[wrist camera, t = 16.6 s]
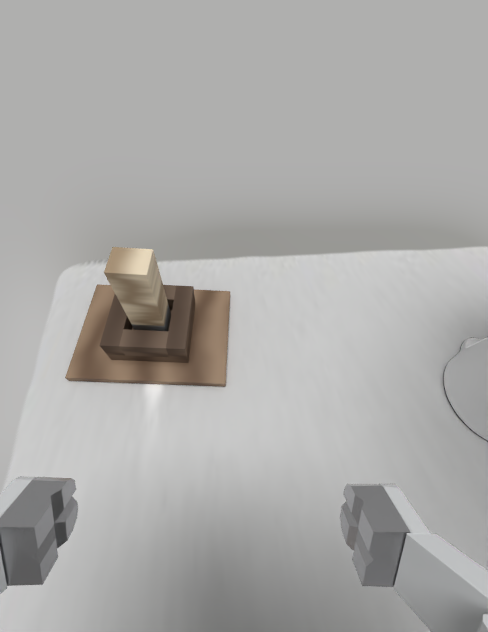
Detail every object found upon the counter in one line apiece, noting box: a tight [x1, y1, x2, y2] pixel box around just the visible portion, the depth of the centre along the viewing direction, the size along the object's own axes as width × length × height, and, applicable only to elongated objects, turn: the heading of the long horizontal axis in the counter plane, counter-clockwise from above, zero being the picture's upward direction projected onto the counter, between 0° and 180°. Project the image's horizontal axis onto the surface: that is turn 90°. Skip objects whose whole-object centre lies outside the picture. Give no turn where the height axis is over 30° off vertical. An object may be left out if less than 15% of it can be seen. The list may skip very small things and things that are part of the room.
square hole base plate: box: [65, 285, 230, 386], centre depth 44 cm, size 22×16×6 cm
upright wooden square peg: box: [104, 247, 171, 331], centre depth 38 cm, size 4×4×14 cm
